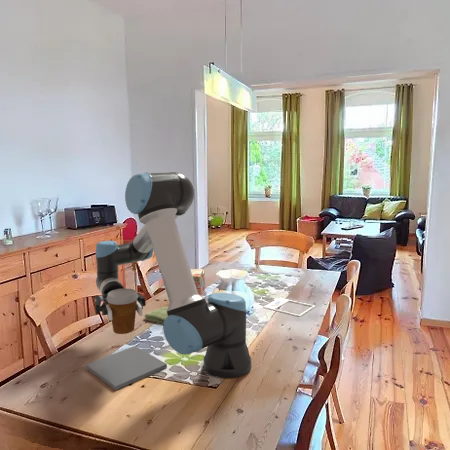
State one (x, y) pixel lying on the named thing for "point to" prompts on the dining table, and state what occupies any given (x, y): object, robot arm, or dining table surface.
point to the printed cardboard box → (199, 279)
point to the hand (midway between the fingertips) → (126, 313)
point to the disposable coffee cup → (123, 309)
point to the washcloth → (157, 315)
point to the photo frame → (281, 301)
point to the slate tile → (125, 367)
